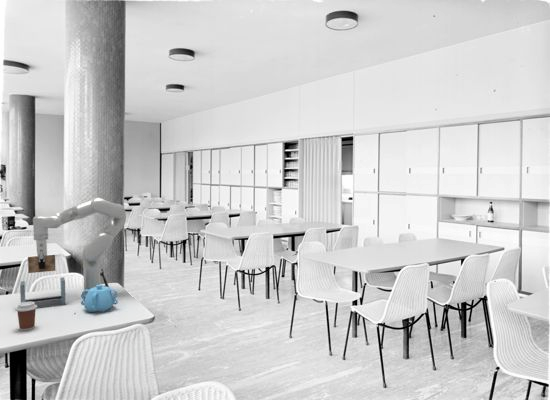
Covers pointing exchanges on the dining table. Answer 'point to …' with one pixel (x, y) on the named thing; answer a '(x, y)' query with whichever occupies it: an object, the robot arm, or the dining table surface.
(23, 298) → the door track
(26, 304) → the coffee cup
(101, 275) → the phone stand
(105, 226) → the robot arm
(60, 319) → the dining table surface
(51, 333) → the dining table surface
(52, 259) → the brown rectangular block
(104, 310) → the decorative pot
